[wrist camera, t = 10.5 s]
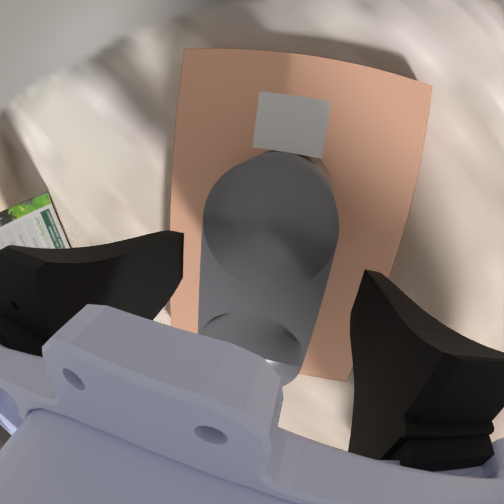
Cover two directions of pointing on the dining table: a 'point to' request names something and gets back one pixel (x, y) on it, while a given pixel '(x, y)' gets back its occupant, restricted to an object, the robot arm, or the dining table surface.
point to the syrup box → (32, 225)
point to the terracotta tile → (334, 158)
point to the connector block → (271, 237)
